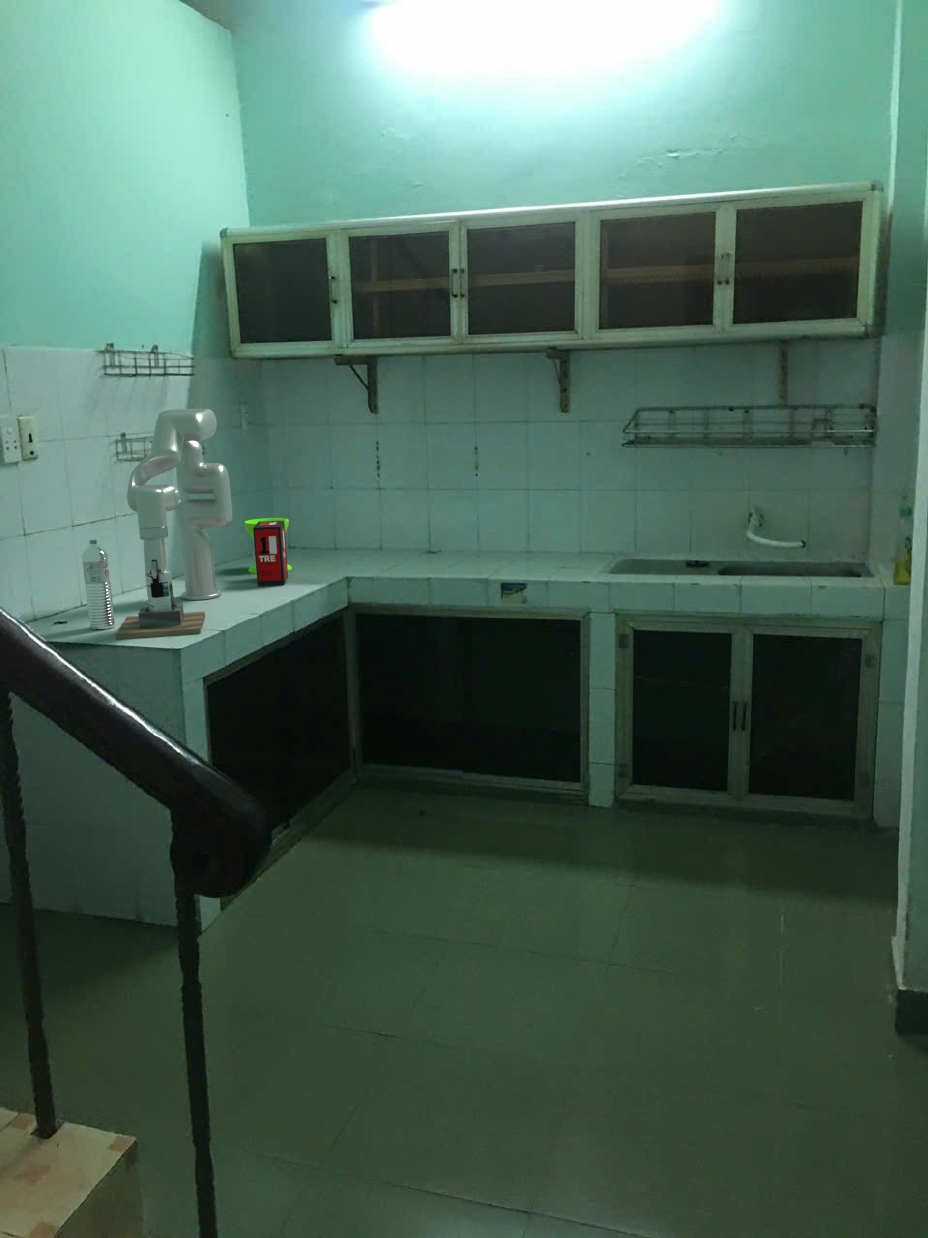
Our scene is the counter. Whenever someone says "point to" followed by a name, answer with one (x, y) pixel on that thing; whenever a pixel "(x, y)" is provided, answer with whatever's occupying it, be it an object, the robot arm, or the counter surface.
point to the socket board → (161, 623)
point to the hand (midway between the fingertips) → (159, 593)
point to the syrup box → (167, 600)
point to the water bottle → (98, 587)
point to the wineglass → (249, 527)
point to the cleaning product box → (270, 553)
